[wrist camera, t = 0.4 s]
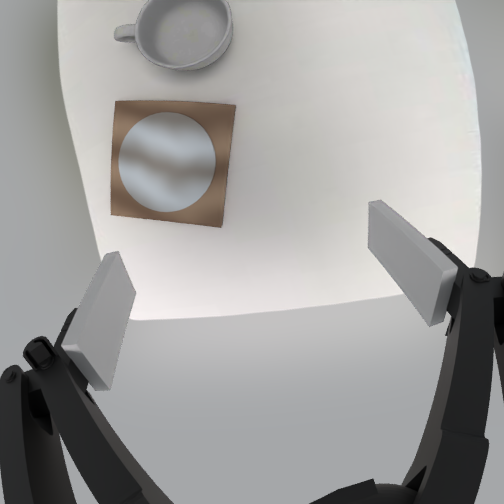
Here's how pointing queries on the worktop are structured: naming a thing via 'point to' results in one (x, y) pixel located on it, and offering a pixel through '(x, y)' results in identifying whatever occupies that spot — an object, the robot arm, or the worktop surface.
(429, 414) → the robot arm
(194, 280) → the worktop surface
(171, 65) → the teacup
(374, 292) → the worktop surface
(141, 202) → the walnut board
